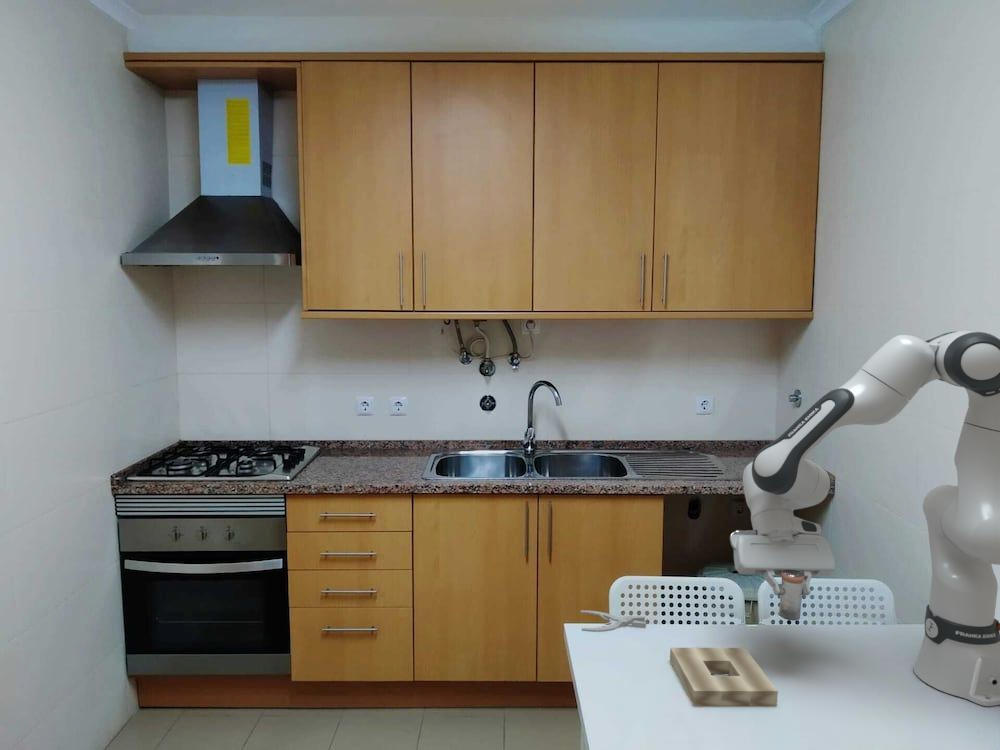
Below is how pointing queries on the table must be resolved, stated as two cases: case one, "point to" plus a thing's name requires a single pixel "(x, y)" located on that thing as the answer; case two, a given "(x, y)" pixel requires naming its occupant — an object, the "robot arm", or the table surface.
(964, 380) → the robot arm
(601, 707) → the table surface
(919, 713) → the table surface
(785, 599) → the steel peg
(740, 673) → the wooden flat square block
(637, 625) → the pliers
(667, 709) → the table surface
